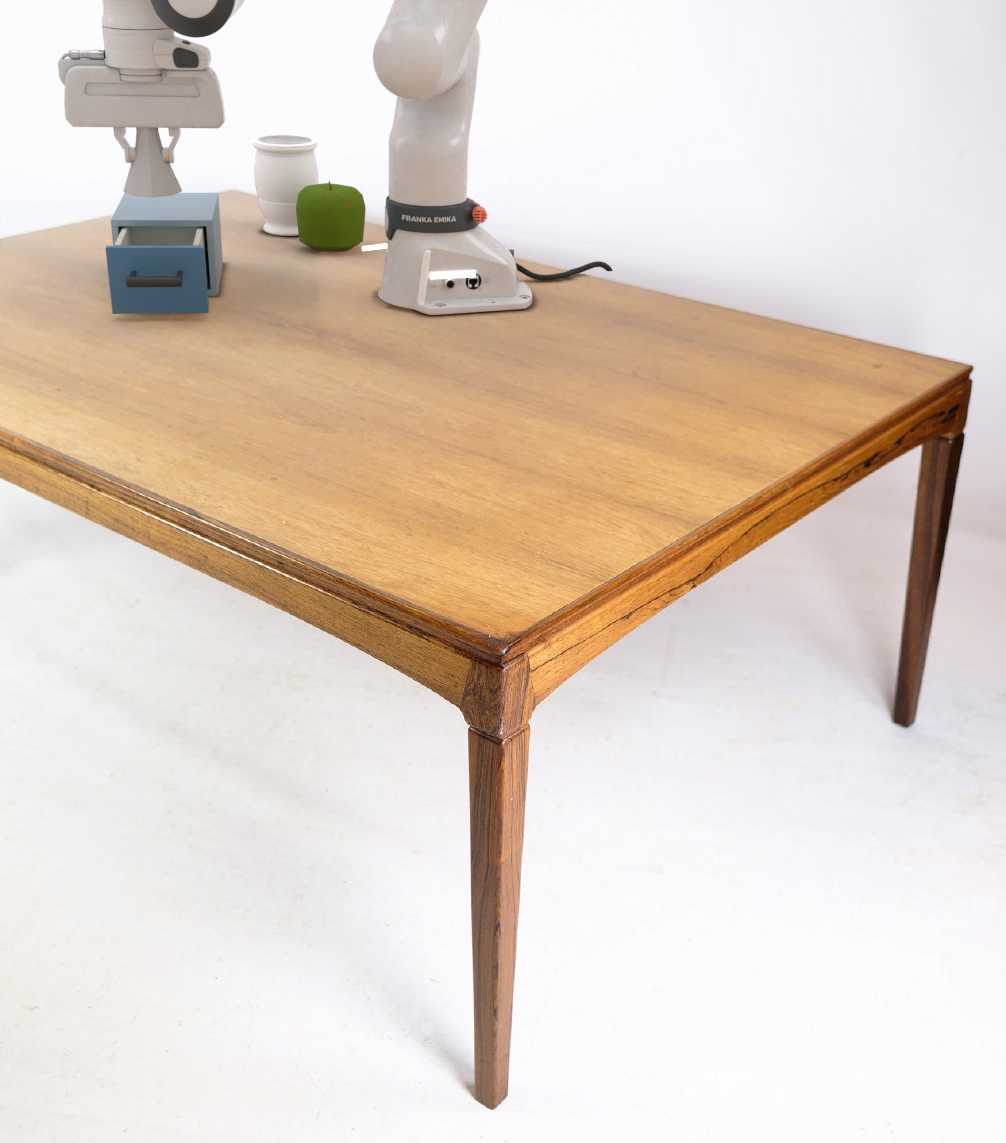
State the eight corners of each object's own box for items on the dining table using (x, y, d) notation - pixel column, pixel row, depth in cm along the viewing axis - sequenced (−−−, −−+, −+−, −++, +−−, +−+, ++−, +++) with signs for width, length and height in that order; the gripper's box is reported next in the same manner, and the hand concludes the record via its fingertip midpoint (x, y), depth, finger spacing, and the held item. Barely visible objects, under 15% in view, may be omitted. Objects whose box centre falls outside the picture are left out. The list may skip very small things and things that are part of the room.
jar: (325, 226, 225) (323, 136, 218) (312, 240, 216) (309, 147, 209) (265, 222, 226) (261, 132, 219) (249, 236, 217) (244, 143, 210)
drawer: (206, 324, 171) (201, 257, 166) (108, 325, 169) (100, 257, 165) (214, 279, 189) (210, 218, 185) (126, 280, 188) (119, 218, 183)
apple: (296, 256, 206) (293, 187, 201) (298, 240, 216) (296, 173, 210) (366, 257, 207) (365, 188, 202) (365, 241, 217) (364, 174, 212)
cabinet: (217, 296, 186) (212, 220, 180) (118, 296, 184) (110, 219, 178) (222, 263, 201) (218, 192, 196) (131, 263, 199) (124, 192, 194)
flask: (192, 193, 175) (186, 115, 170) (152, 202, 169) (145, 122, 164) (153, 185, 178) (146, 109, 173) (113, 194, 172) (105, 115, 168)
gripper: (52, 52, 161) (65, 166, 167) (219, 55, 164) (226, 167, 170) (59, 46, 166) (73, 157, 173) (221, 49, 169) (228, 158, 176)
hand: (150, 162), depth 172 cm, fingers closed on flask, 3 cm apart
